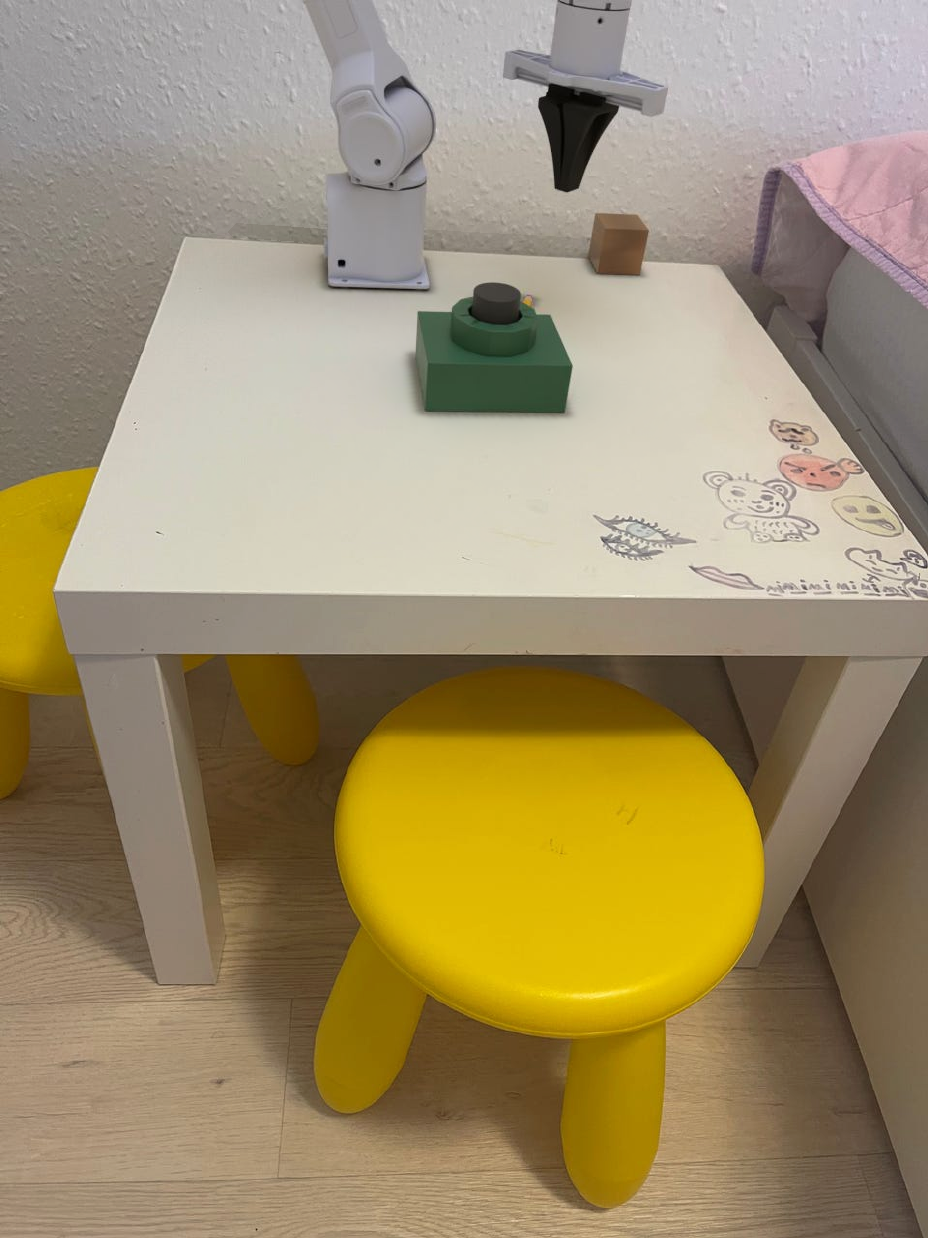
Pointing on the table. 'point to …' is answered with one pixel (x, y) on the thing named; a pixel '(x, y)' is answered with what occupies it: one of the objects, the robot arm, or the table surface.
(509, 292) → the dark grey push button
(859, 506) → the table surface
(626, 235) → the block
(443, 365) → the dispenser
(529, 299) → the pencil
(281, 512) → the table surface
